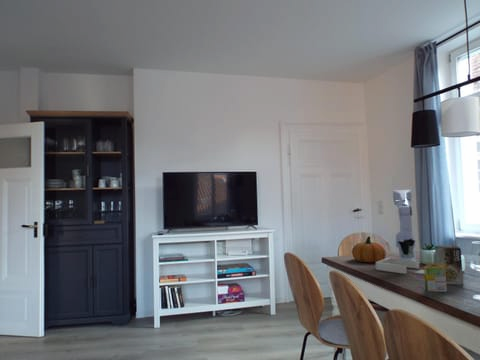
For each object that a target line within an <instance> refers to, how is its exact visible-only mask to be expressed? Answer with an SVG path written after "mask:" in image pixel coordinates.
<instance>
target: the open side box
mask: <svg viewBox="0 0 480 360" xmlns="http://www.w3.org/2000/svg"><path fill="white" fill-rule="evenodd" d="M407 268H410V269H420V261H419V260H415V261H414V260H405V259H399V258H396V257H395V258H393V257H387V258H385V259H384V260H381V261H377V262H375V270H376V271H382V272H391V273H397V274H407Z"/></svg>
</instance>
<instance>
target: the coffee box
mask: <svg viewBox="0 0 480 360" xmlns="http://www.w3.org/2000/svg"><path fill="white" fill-rule="evenodd" d="M434 250H435V251H434V252H435V253H434V254H435V263H445V272H446V285H459V286H461V285H464V274H463V263H462V251H461V250H462V249H461V247H459V246H458V245H434ZM437 266H440V265H436V264H435V267H437Z"/></svg>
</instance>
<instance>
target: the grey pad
mask: <svg viewBox="0 0 480 360" xmlns="http://www.w3.org/2000/svg"><path fill="white" fill-rule="evenodd" d="M413 273H414V274H418V275H424V276H425V272H424V269H420V270H417V271H414V272H413Z"/></svg>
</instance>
